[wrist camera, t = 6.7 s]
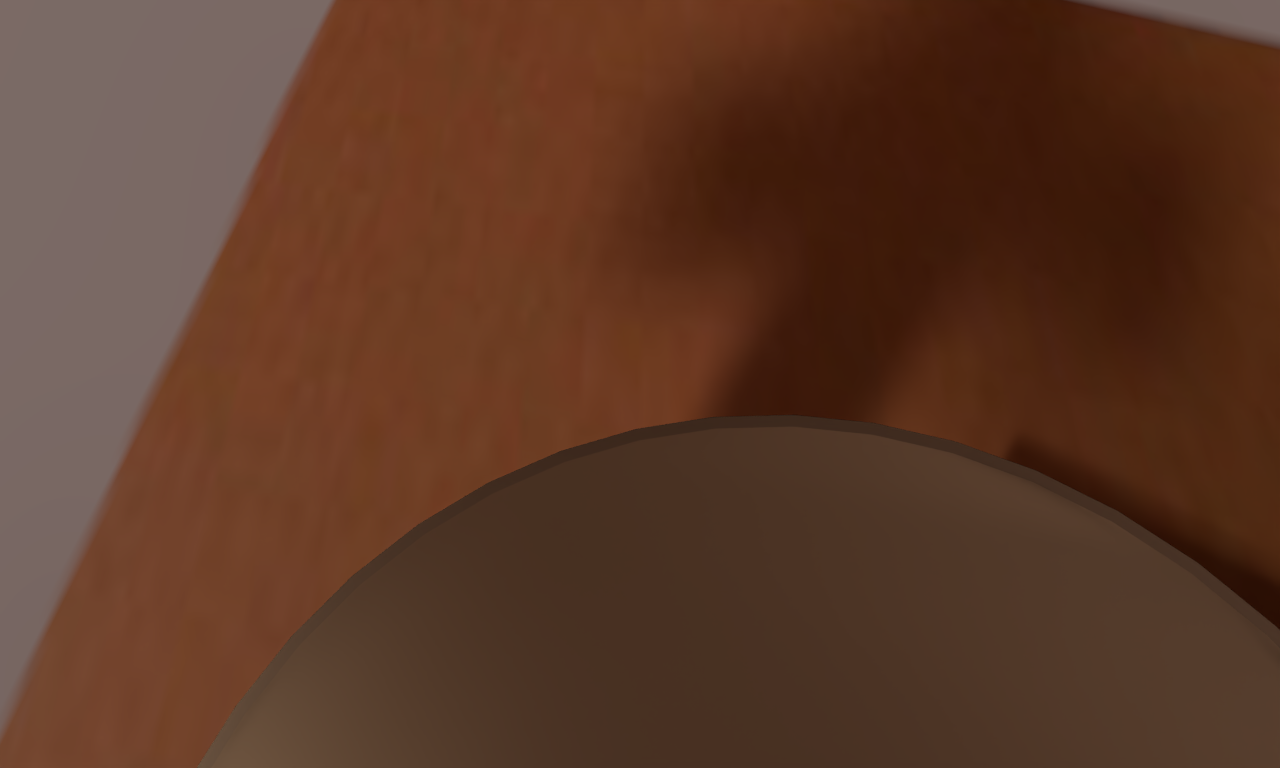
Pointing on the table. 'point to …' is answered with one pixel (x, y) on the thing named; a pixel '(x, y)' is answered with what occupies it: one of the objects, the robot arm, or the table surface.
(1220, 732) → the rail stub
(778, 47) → the table surface
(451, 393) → the table surface
